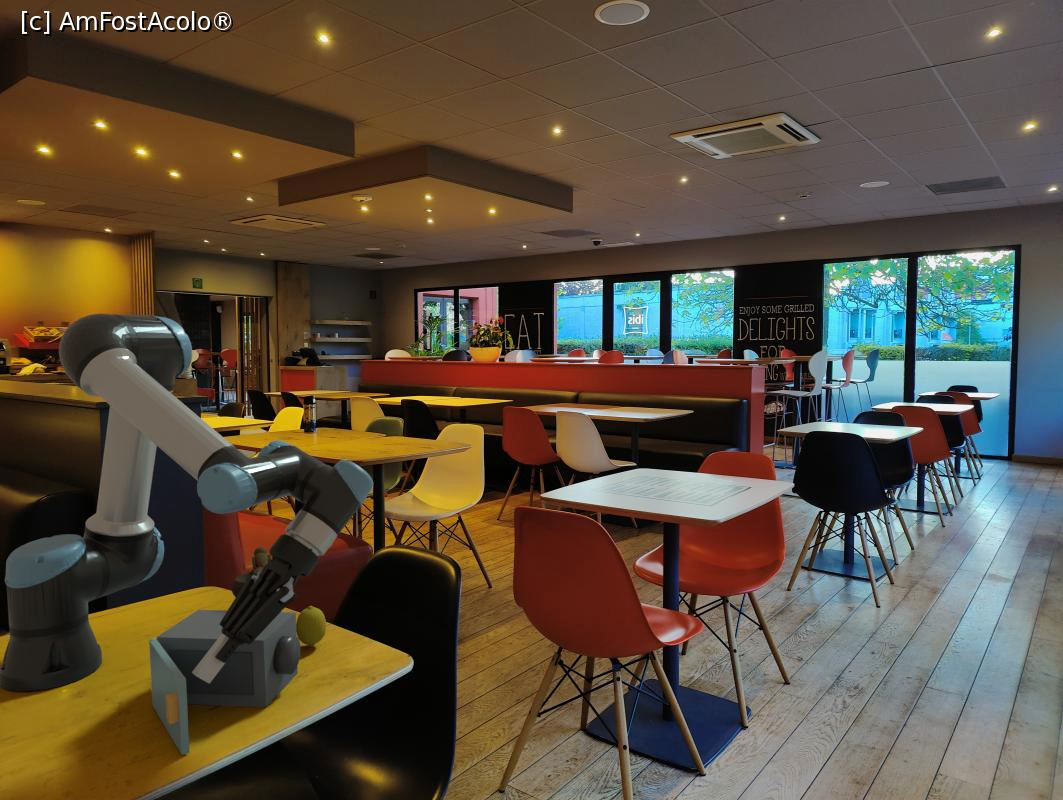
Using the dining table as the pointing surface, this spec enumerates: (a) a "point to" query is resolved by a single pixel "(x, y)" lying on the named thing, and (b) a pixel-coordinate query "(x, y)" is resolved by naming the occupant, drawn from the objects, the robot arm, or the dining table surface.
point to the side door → (169, 695)
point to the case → (234, 660)
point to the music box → (257, 562)
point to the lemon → (311, 626)
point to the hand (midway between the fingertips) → (200, 678)
